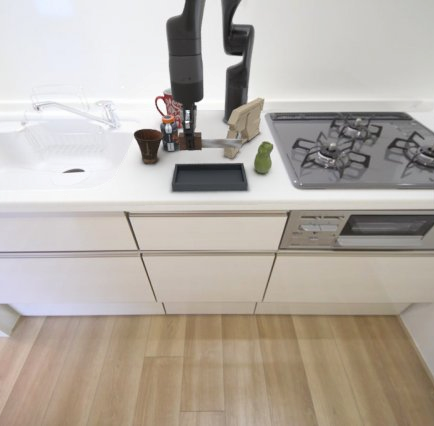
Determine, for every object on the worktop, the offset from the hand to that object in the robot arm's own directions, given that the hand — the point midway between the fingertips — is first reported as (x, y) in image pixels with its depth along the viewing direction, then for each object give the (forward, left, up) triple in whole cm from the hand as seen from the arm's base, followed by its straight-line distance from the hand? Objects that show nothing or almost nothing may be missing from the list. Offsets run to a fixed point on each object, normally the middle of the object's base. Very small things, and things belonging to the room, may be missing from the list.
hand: (191, 146), depth 65 cm
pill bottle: (-11, -19, -11) cm, 25 cm away
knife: (-3, +4, 0) cm, 5 cm away
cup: (-1, -18, -11) cm, 22 cm away
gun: (-29, +1, -11) cm, 31 cm away
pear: (-17, +15, -11) cm, 25 cm away
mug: (-26, -32, -11) cm, 43 cm away
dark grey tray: (-3, +4, -11) cm, 12 cm away
